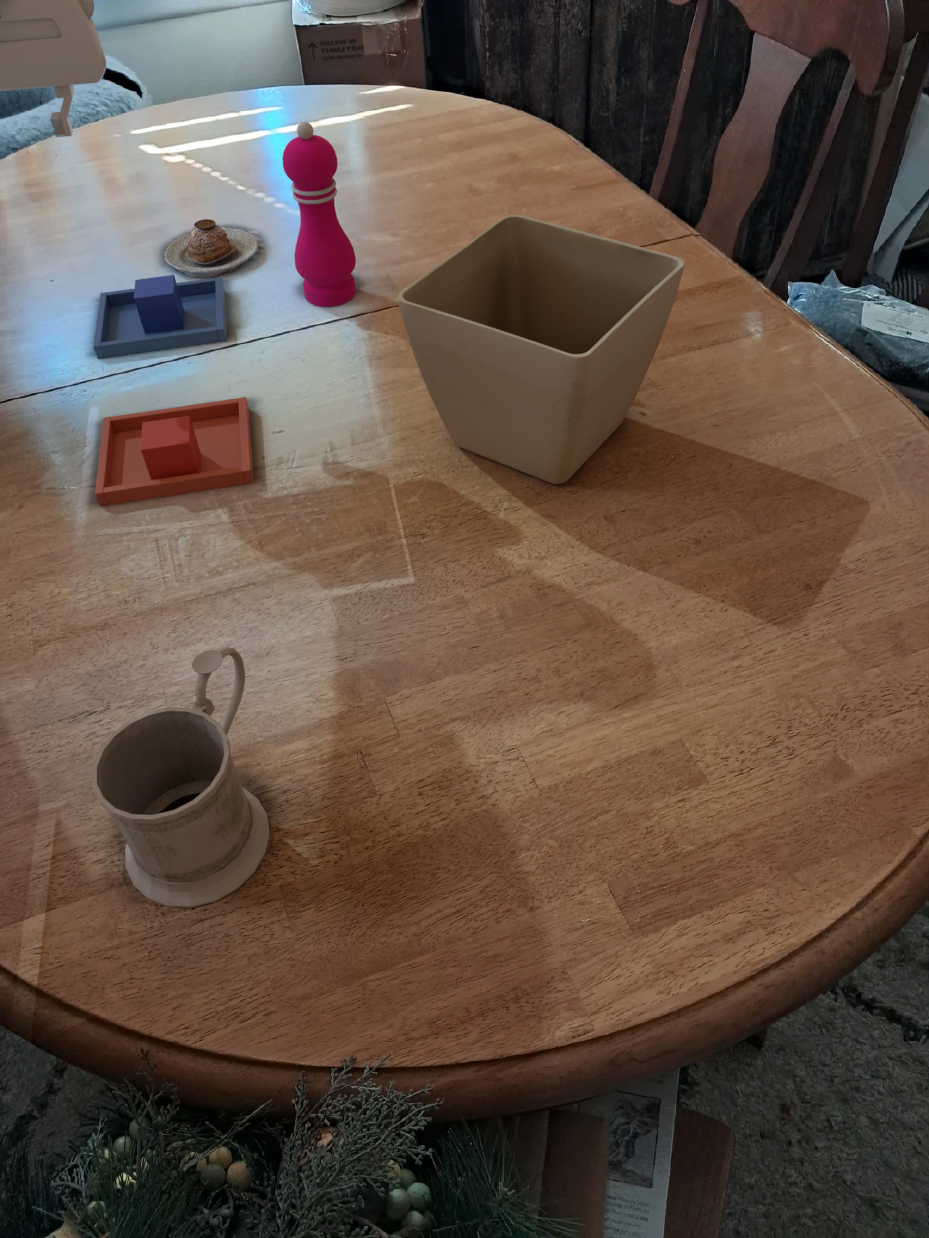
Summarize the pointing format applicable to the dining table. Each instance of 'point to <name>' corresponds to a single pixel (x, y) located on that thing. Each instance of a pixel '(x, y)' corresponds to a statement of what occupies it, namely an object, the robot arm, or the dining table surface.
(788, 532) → the dining table surface
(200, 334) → the blue tray
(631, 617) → the dining table surface
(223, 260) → the pastry
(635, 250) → the flower pot
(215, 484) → the red tray
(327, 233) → the pepper mill
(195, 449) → the red block
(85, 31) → the robot arm
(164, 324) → the blue block
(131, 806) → the mug
